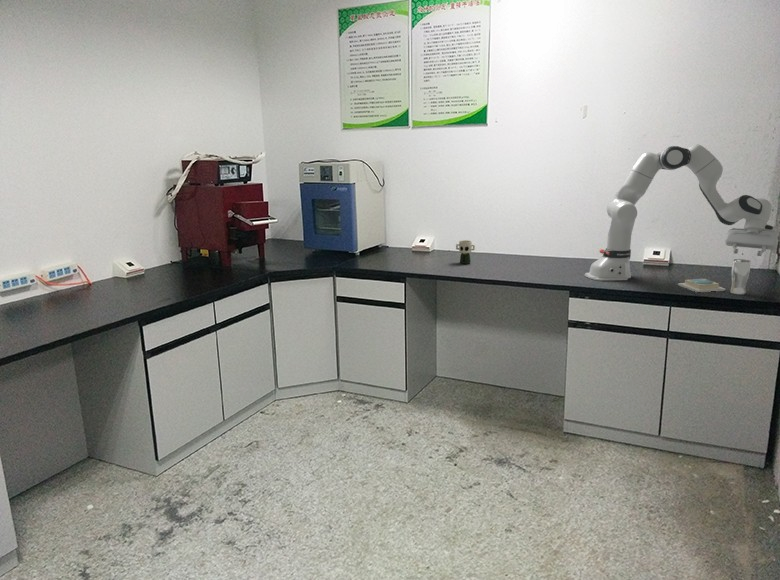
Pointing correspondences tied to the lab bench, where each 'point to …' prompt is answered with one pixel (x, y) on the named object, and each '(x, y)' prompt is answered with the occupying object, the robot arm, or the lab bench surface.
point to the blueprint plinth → (701, 285)
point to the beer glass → (739, 276)
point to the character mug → (465, 250)
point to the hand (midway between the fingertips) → (747, 254)
